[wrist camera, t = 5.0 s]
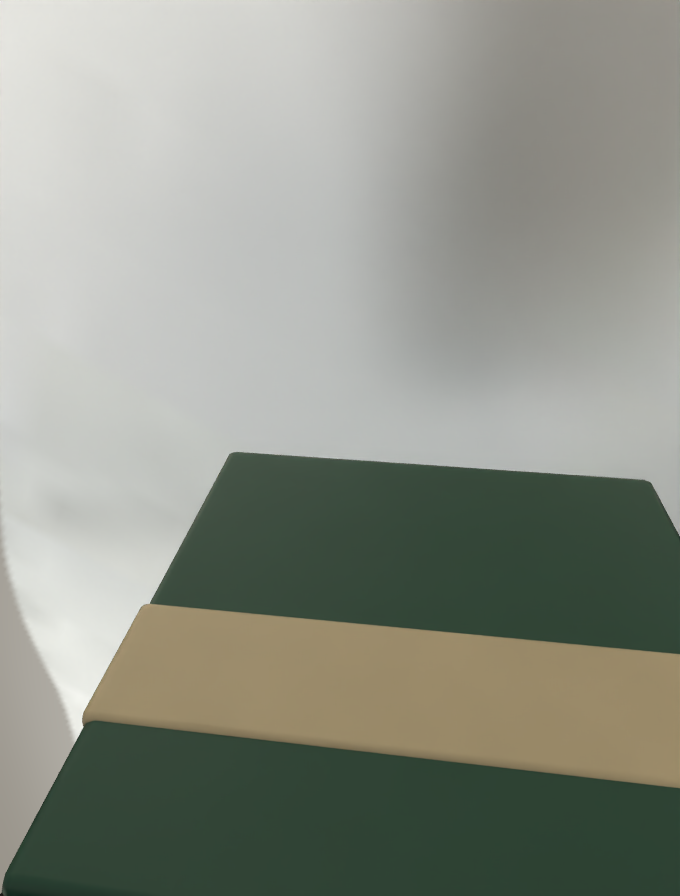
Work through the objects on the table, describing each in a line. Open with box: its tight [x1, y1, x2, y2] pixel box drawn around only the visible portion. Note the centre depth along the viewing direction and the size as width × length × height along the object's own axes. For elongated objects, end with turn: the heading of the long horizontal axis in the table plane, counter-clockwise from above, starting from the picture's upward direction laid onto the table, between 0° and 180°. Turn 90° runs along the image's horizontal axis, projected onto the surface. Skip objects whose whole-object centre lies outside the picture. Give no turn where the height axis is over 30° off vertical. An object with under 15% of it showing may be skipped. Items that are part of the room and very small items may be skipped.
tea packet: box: [2, 452, 680, 896], centre depth 7 cm, size 7×5×5 cm
